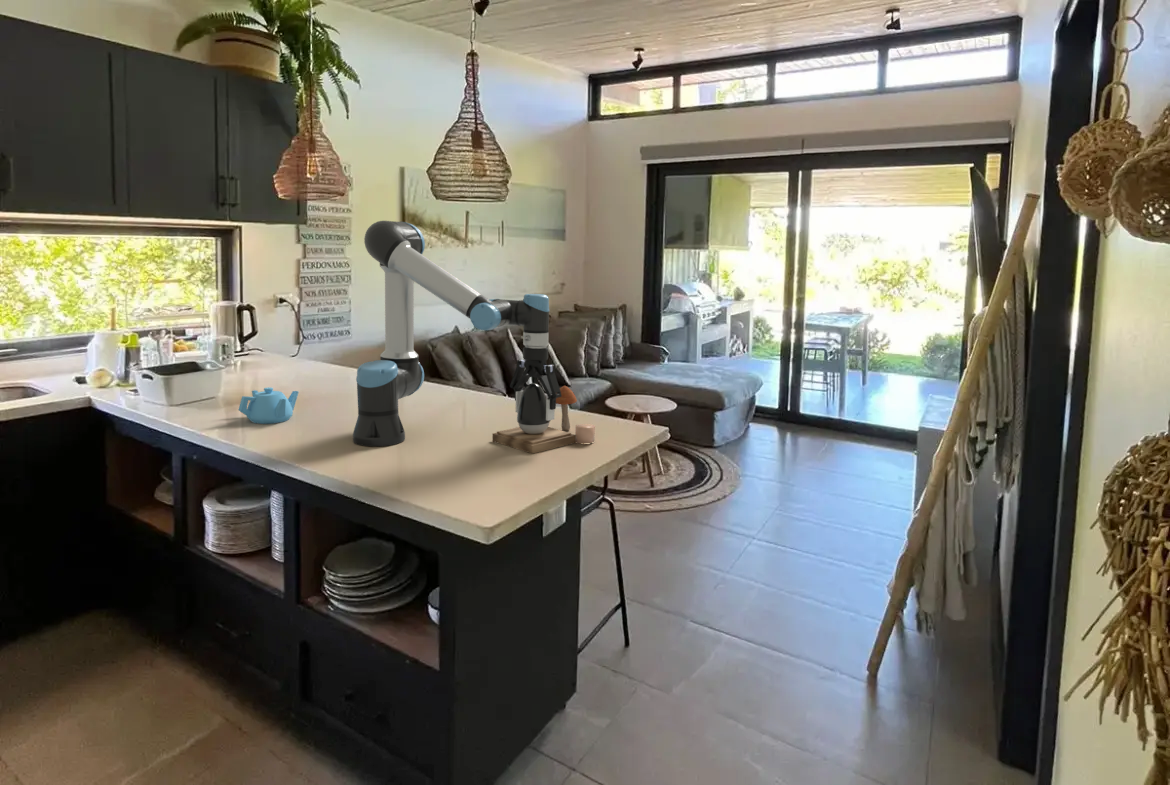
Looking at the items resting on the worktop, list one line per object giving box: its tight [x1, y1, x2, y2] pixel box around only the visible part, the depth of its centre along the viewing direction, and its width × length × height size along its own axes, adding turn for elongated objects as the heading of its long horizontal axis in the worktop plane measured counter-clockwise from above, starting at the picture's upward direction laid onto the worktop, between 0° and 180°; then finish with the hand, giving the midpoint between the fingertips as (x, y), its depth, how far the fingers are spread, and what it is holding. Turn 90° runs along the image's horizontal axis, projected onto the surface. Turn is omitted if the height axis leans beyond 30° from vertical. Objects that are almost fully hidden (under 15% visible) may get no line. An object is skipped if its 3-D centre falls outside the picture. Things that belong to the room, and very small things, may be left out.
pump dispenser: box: [516, 382, 552, 434], centre depth 218 cm, size 10×10×15 cm
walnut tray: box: [491, 426, 576, 454], centre depth 220 cm, size 18×18×3 cm
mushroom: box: [556, 385, 578, 432], centre depth 233 cm, size 8×8×15 cm
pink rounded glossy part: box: [574, 423, 596, 444], centre depth 222 cm, size 6×6×5 cm
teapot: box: [238, 386, 300, 425], centre depth 237 cm, size 15×15×11 cm
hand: (534, 415), depth 218 cm, fingers open, 13 cm apart
